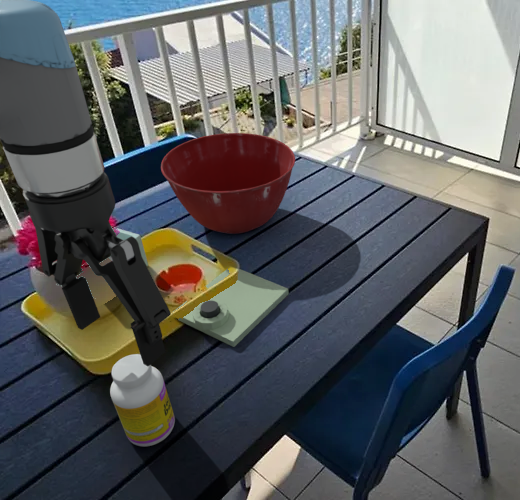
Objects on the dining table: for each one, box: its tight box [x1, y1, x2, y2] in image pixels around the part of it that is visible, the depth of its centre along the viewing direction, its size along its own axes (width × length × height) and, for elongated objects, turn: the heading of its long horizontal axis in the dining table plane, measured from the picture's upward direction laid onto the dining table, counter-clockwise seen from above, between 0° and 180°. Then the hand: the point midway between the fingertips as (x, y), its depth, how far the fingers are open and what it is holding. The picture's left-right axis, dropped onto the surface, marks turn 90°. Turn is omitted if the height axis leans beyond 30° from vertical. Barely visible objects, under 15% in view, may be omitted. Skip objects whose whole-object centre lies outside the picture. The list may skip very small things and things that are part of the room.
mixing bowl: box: [160, 132, 296, 235], centre depth 113 cm, size 28×28×15 cm
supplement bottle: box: [109, 353, 176, 447], centre depth 68 cm, size 7×7×13 cm
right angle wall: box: [116, 227, 149, 267], centre depth 97 cm, size 12×12×8 cm
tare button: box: [201, 301, 219, 318], centre depth 87 cm, size 3×3×2 cm
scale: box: [172, 268, 290, 348], centre depth 92 cm, size 16×14×3 cm
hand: (120, 339), depth 61 cm, fingers open, 11 cm apart
